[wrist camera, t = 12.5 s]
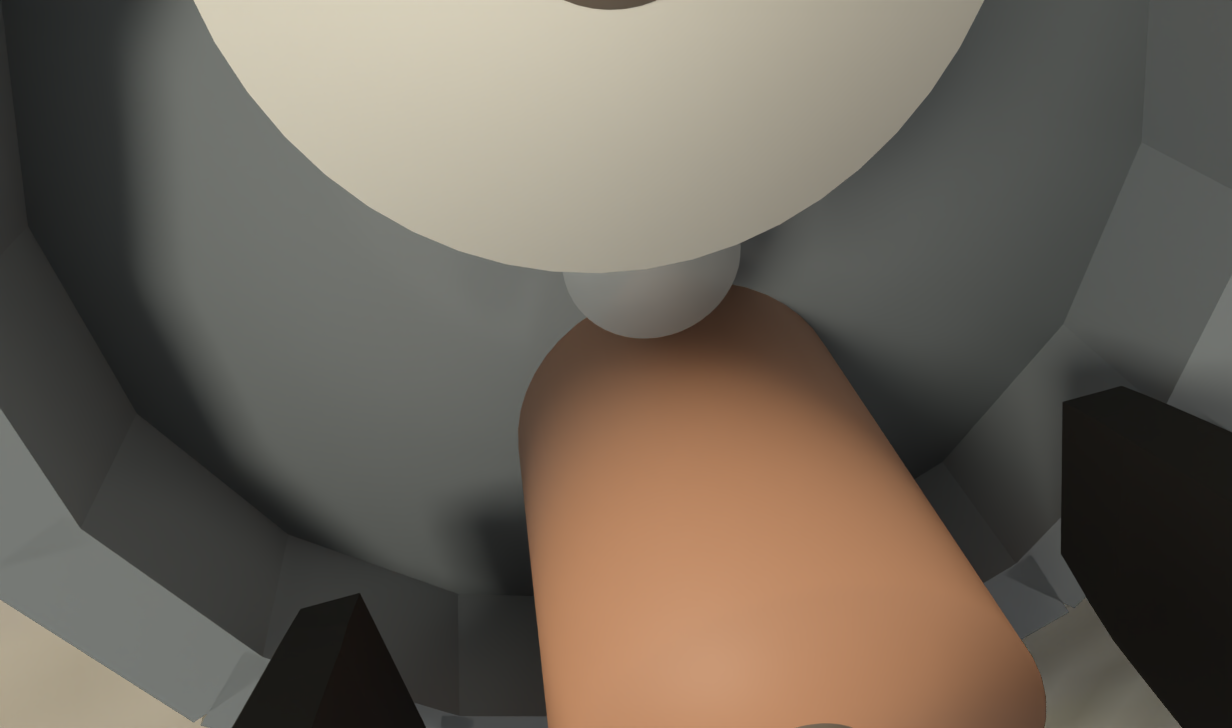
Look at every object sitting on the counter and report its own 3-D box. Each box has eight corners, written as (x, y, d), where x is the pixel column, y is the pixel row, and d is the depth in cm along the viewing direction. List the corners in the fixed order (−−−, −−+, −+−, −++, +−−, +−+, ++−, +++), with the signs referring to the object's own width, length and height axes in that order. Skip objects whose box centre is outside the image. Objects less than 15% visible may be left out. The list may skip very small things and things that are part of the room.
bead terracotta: (903, 380, 12) (1144, 694, 8) (707, 595, 14) (825, 964, 9) (647, 217, 11) (778, 503, 7) (454, 480, 12) (459, 859, 8)
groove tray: (1451, -70, 11) (1721, -30, 9) (743, 722, 16) (794, 884, 14) (250, -1353, 6) (123, -2077, 4) (-251, 387, 11) (-442, 553, 9)
